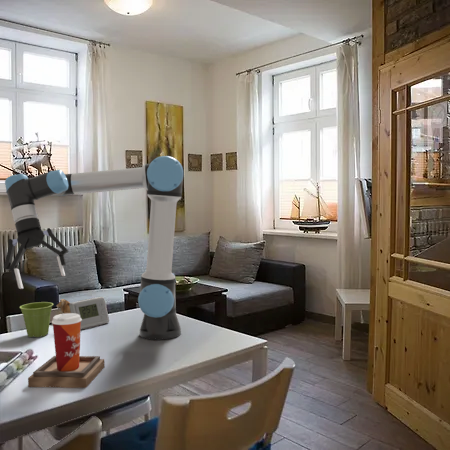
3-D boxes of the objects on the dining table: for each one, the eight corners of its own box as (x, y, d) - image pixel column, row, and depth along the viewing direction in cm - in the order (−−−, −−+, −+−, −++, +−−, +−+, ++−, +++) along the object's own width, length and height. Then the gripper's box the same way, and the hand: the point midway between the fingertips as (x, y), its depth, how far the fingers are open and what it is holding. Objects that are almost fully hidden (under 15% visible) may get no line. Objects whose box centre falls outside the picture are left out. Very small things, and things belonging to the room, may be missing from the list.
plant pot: (38, 329, 193) (38, 300, 192) (61, 333, 187) (60, 303, 187) (13, 337, 182) (12, 306, 182) (36, 341, 177) (35, 310, 176)
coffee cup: (74, 373, 136) (72, 320, 136) (47, 372, 138) (45, 319, 137) (88, 363, 145) (87, 313, 144) (62, 362, 146) (61, 312, 145)
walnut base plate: (104, 367, 149) (104, 355, 149) (86, 387, 133) (85, 374, 133) (52, 366, 150) (52, 354, 150) (28, 387, 134) (27, 373, 134)
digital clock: (74, 332, 189) (73, 304, 188) (65, 327, 196) (64, 300, 195) (113, 324, 199) (112, 298, 198) (103, 320, 206) (103, 295, 205)
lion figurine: (55, 321, 206) (54, 299, 205) (65, 318, 210) (65, 297, 210) (77, 326, 197) (76, 303, 197) (88, 323, 202) (87, 301, 201)
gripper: (66, 212, 169) (82, 271, 166) (-9, 233, 165) (6, 294, 161) (62, 207, 162) (79, 269, 158) (-17, 228, 158) (-1, 292, 154)
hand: (42, 282), depth 160 cm, fingers open, 13 cm apart
